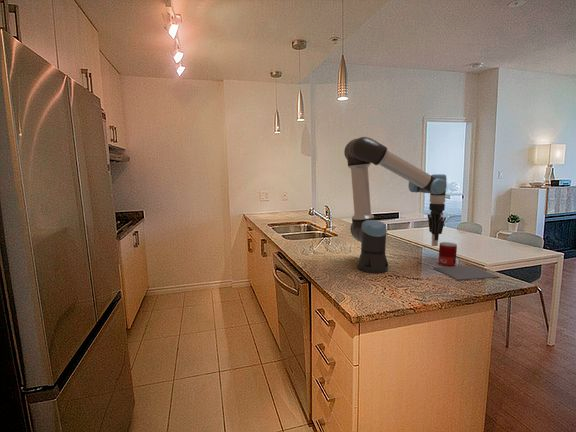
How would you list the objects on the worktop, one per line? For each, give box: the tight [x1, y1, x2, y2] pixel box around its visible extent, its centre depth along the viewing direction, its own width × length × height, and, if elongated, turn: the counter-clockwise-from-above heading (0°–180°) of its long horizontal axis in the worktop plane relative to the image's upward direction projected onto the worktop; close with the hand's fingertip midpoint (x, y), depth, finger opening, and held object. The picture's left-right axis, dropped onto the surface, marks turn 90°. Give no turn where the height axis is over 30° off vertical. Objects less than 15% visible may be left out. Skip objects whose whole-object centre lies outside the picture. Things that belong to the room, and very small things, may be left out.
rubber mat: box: [432, 265, 500, 282], centre depth 152 cm, size 21×18×1 cm
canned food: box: [438, 241, 458, 267], centre depth 166 cm, size 8×8×11 cm
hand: (434, 245), depth 176 cm, fingers closed
